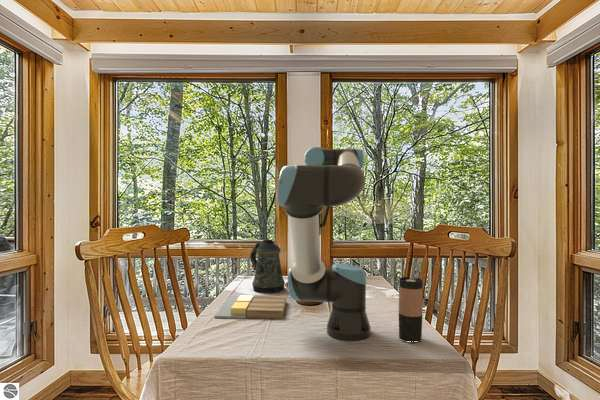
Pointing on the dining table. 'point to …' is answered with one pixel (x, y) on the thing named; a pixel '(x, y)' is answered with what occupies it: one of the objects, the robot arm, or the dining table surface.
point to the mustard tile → (239, 308)
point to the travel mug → (410, 308)
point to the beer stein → (267, 268)
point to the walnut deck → (267, 307)
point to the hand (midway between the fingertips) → (315, 243)
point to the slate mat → (228, 311)
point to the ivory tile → (245, 298)
